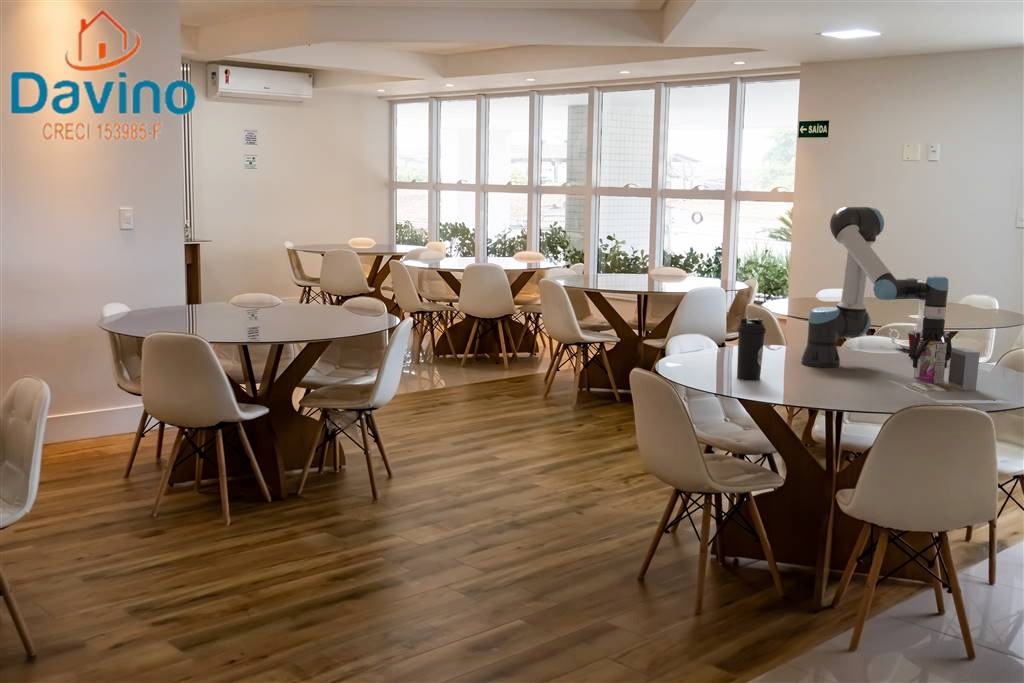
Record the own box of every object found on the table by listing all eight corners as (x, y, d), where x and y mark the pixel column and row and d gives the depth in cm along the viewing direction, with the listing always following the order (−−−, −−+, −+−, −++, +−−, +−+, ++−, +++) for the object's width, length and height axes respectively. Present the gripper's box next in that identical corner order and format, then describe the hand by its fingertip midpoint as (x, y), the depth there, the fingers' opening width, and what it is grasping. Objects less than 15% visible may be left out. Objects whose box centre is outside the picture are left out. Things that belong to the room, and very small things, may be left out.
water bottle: (760, 382, 370) (764, 320, 366) (732, 379, 373) (736, 319, 369) (763, 377, 379) (767, 317, 375) (736, 375, 382) (740, 315, 379)
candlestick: (894, 344, 469) (900, 285, 465) (949, 351, 453) (955, 290, 449) (878, 349, 454) (883, 288, 449) (934, 356, 438) (940, 293, 433)
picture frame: (923, 393, 356) (923, 390, 356) (906, 386, 369) (906, 383, 369) (979, 394, 358) (979, 390, 358) (959, 386, 371) (960, 383, 371)
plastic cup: (929, 363, 421) (932, 335, 419) (902, 360, 426) (905, 332, 424) (933, 359, 430) (936, 332, 428) (906, 356, 435) (909, 329, 433)
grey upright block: (961, 390, 359) (965, 352, 357) (947, 384, 369) (950, 347, 367) (975, 390, 360) (979, 352, 357) (961, 384, 369) (964, 347, 367)
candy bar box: (912, 380, 381) (916, 338, 379) (923, 379, 383) (927, 337, 380) (932, 386, 371) (936, 342, 368) (943, 385, 372) (948, 342, 369)
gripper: (911, 318, 368) (905, 378, 371) (967, 319, 370) (961, 378, 374) (901, 315, 375) (896, 374, 379) (956, 316, 377) (950, 374, 381)
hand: (928, 376), depth 376 cm, fingers open, 9 cm apart
